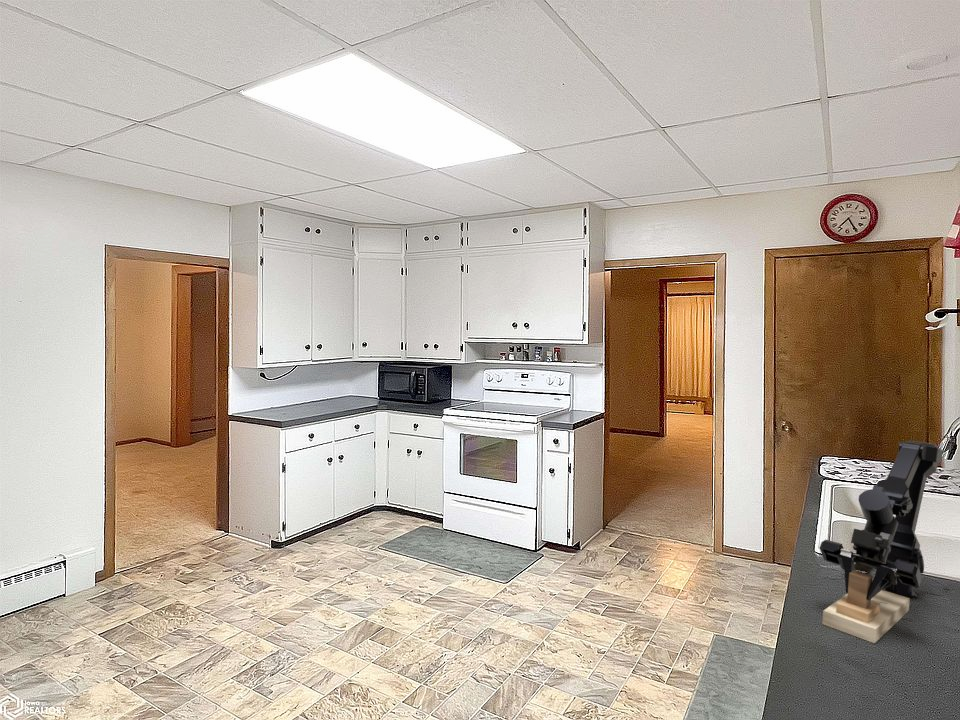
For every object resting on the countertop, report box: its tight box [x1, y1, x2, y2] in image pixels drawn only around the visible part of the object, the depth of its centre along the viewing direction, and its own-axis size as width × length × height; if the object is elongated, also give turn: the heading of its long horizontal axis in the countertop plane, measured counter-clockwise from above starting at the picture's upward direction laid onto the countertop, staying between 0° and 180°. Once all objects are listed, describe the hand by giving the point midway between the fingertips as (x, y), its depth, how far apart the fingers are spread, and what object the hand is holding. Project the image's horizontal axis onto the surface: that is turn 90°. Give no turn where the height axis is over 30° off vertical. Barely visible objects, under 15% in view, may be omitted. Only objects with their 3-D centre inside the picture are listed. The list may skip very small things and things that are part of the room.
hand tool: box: [854, 563, 872, 573], centre depth 169 cm, size 19×4×5 cm, turn 131°
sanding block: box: [836, 570, 880, 623], centre depth 132 cm, size 8×6×8 cm
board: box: [821, 589, 911, 644], centre depth 137 cm, size 24×10×3 cm, turn 131°
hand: (857, 595), depth 131 cm, fingers closed on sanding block, 4 cm apart
